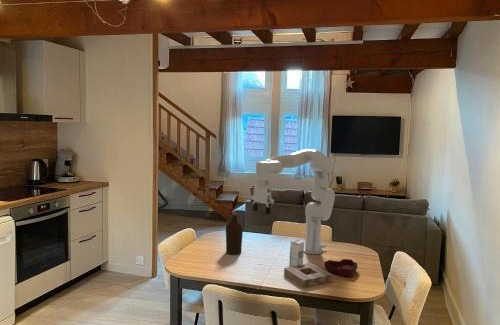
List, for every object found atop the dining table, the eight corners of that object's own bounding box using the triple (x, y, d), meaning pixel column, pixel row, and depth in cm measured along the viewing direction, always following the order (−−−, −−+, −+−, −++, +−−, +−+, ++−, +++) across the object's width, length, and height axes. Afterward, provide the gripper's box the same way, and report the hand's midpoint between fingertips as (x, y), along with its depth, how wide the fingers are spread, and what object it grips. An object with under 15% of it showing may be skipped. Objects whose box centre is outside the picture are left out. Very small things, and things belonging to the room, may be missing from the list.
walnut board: (311, 270, 217) (311, 263, 216) (332, 282, 201) (332, 274, 201) (284, 275, 209) (284, 267, 208) (303, 288, 193) (303, 280, 192)
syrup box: (294, 263, 227) (295, 238, 226) (303, 265, 223) (304, 241, 222) (289, 265, 223) (290, 241, 221) (297, 268, 219) (298, 243, 217)
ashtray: (335, 280, 204) (336, 271, 204) (321, 269, 220) (322, 260, 219) (365, 277, 209) (366, 268, 209) (349, 266, 225) (350, 258, 224)
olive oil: (232, 256, 236) (232, 215, 233) (221, 251, 244) (222, 212, 241) (245, 253, 242) (246, 213, 240) (235, 248, 251) (236, 210, 248)
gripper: (278, 184, 219) (277, 214, 221) (255, 180, 231) (255, 208, 233) (269, 185, 214) (268, 216, 215) (246, 181, 225) (246, 210, 227)
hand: (261, 212), depth 224 cm, fingers open, 9 cm apart
